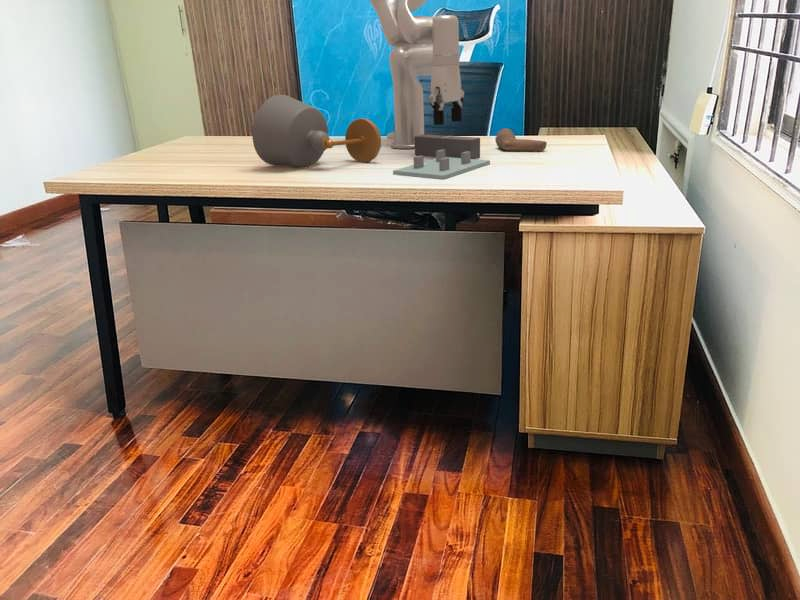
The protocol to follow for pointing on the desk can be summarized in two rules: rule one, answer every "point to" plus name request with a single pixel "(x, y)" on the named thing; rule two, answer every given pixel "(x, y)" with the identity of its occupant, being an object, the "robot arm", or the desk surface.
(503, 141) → the pipe
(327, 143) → the light fixture
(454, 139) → the dark gray block
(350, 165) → the desk surface
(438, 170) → the base
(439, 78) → the robot arm
